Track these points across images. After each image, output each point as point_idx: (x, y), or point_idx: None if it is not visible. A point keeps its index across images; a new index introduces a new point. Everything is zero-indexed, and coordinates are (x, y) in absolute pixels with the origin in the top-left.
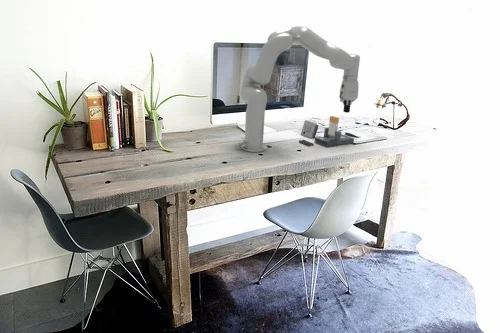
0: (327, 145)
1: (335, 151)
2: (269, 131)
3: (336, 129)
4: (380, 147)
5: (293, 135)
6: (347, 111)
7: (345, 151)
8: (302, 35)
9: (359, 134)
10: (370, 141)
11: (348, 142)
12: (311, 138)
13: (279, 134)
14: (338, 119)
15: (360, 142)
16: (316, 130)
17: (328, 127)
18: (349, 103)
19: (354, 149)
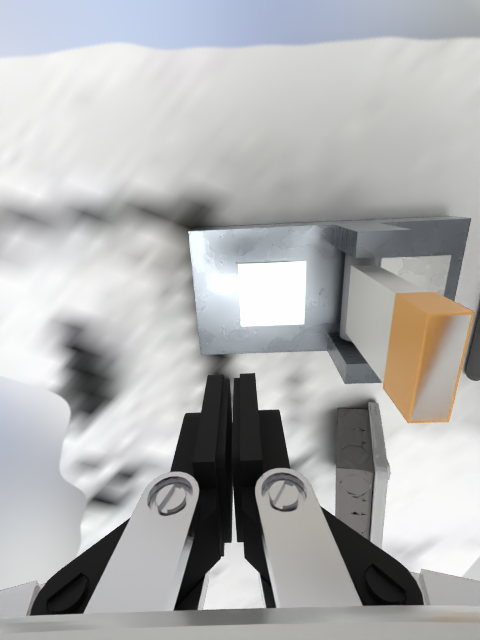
0: (451, 216)
1: (462, 118)
2: (461, 554)
3: (382, 277)
4: (50, 56)
5: (410, 476)
6: (255, 382)
7: (395, 85)
8: None
9: (16, 372)
10: (35, 222)
11: (242, 226)
12: (370, 402)
13: (461, 508)
14: (426, 306)
15: (124, 230)
16: (344, 438)
17: (351, 381)
18: (198, 518)
19: (291, 100)
